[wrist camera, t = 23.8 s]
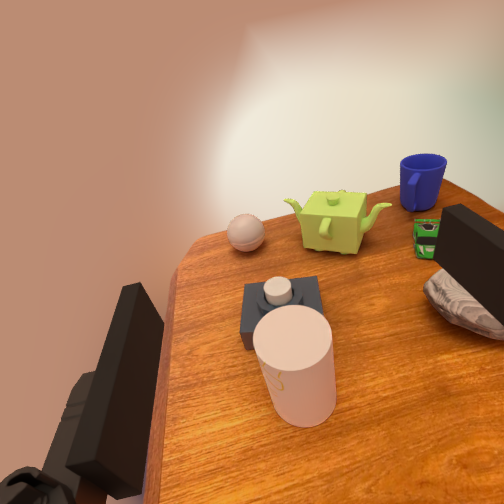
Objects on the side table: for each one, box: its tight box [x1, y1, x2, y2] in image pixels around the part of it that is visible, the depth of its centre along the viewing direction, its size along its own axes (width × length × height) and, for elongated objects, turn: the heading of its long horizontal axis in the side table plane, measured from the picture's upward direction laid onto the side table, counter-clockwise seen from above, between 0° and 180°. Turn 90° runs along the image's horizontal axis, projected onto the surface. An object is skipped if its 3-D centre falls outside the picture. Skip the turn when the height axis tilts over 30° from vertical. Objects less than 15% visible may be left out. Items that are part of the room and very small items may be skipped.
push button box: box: [240, 276, 324, 350], centre depth 46 cm, size 12×10×6 cm
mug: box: [400, 154, 447, 212], centre depth 62 cm, size 8×12×10 cm
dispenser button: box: [264, 277, 293, 306], centre depth 44 cm, size 4×4×2 cm
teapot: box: [284, 190, 392, 255], centre depth 58 cm, size 15×13×11 cm
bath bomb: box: [227, 214, 265, 252], centre depth 63 cm, size 8×8×8 cm
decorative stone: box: [423, 269, 504, 340], centre depth 40 cm, size 15×14×10 cm
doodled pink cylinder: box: [253, 305, 336, 427], centre depth 35 cm, size 8×8×12 cm
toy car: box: [413, 219, 440, 260], centre depth 55 cm, size 10×5×2 cm, turn 159°
